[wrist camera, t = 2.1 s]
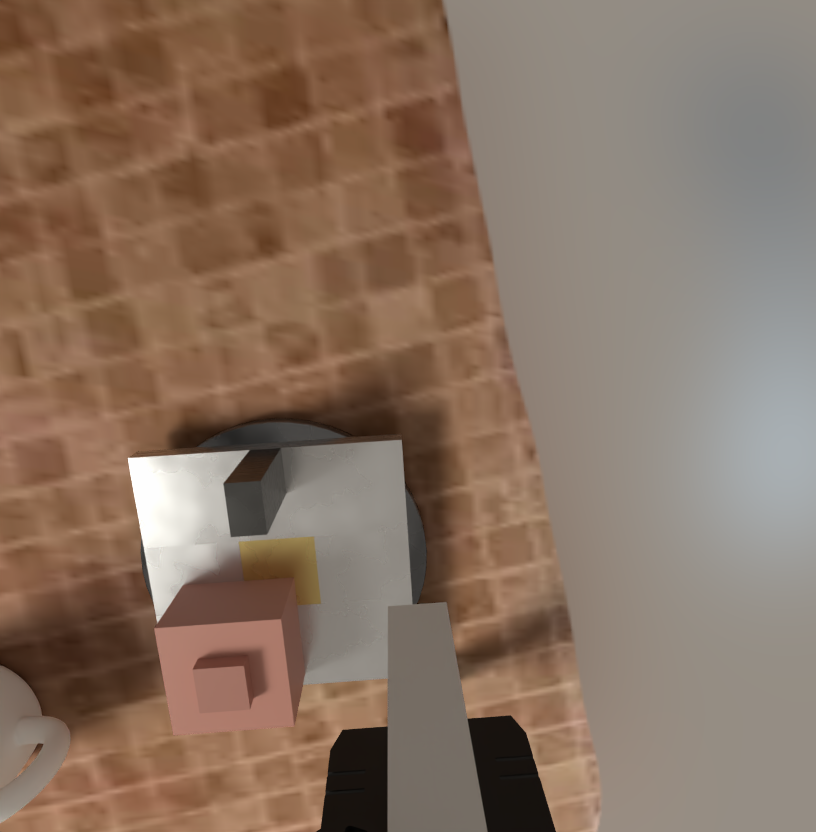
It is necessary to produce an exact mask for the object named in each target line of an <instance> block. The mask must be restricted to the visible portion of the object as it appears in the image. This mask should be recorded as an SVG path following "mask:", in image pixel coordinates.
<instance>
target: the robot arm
mask: <svg viewBox="0 0 816 832" xmlns="http://www.w3.org/2000/svg"><path fill="white" fill-rule="evenodd" d="M317 832H556V831H555V827H554V824H553V821H552V817H551V814H550V811H549V807H548V804H547V801H546V797H545V794H544V791H543V788H542V784H541V781H540V778H539V776H538V771H537V768H536V764H535V761H534V759H533V754H532V751H531V748H530V744H529V741H528V738H527V735H526V733H525V731H524V730H523V729H522V728H521V727H520V726H519V725H518V723H517V722H516V721H515V720H514V719H513V718H512V716H498V717H485V718H472V719H467V714H466V709H465V703H464V697H463V692H462V686H461V681H460V675H459V669H458V664H457V658H456V653H455V647H454V641H453V636H452V630H451V625H450V619H449V613H448V608H447V602H440V603H426V604H412V605H398V606H388V727H375V728H362V729H349V730H342V732H341V734H340V735H339V737H338V739H337V740H336V742H335V743H334V745H333V747H332V748H331V750H330V758H329V767H328V777H327V783H326V795H325V799H324V807H323V816H322V824H321V829H320V830H318V831H317Z"/></svg>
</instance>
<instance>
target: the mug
mask: <svg viewBox="0 0 816 832" xmlns="http://www.w3.org/2000/svg"><path fill="white" fill-rule="evenodd" d="M70 741H71V739H70V730H69V729H68V727H67V725H66V724H65V723H64V722H63V721H61V720H60V719H57V718H54V717H51V716H42V712H41V707H40V705H39V702H38V700H37V698H36V696H35V694H34V692H33V691H32V689H31V688H30V687H29V685H28V684H27V683H26V682H25V681H24V680H23V679H22V678H21V677H20V676H18V675H17V674H16V673H14V672H13V671H11V670H10V669H8V668H6V667H4V666H2V665H0V823H1V822H3V821H5V820H6V819H8V818H9V817H11V816H12V815H13V814H15V813H16V812H18V811H19V810H20V809H22V808H23V807H24V806H25V805H26V804H28V803H29V802H30V801H31V800H32V799H33V798H34V797H35V796H36V795H37V794H38V793H40V792H41V791H42V790H43V789H44V787H45V786H46V785H47V784H48V783H49V782H50V781H51V779H52V778H53V777H54V775H55V774H56V773H57V771H58V770H59V769H60V767H61V765H62V763H63V762H64V760H65V757H66V755H67V752H68V750H69V747H70ZM38 743H42V744H43V747H42V749H41V751H40V752H39V754H38V755H37V757H36V758H35V759H34V761H33V762H32V763H31V764H30V765H29V766H28V767H27V769H26V770H25V771H24V772H22V773H21V774H20V775H19V776H18V777H17V778H15V777H16V776H17V775H18V773H19V772H20V771H21V769H22V768H23V767H24V765H25V764H26V762H27V761H28V759H29V758H30V756H31V754H32V753H33V751H34V750H35V748H36V746H37V744H38Z"/></svg>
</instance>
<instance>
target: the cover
mask: <svg viewBox="0 0 816 832" xmlns="http://www.w3.org/2000/svg"><path fill="white" fill-rule="evenodd" d="M154 631H155V636H156V642H157V647H158V653H159V658H160V664H161V669H162V675H163V680H164V686H165V691H166V697H167V702H168V708H169V714H170V719H171V725H172V730H173V735H186V734H200V733H213V732H226V731H239V730H252V729H265V728H278V727H291V726H295V721H296V716H297V711H298V706H299V701H300V697H301V692H302V687H303V682H304V677H305V667H304V659H303V650H302V641H301V633H300V624H299V615H298V607H297V598H296V590H295V581H294V577H292V578H278V579H264V580H250V581H236V582H222V583H208V584H194V585H183V586H182V587H181V589H180V590H179V592H178V593H177V595H176V596H175V598H174V599H173V601H172V602H171V604H170V605H169V607H168V608H167V610H166V611H165V613H164V614H163V616H162V617H161V619H160V620H159V622H158V623H157V625H156V626H155V628H154Z"/></svg>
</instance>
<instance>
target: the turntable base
mask: <svg viewBox="0 0 816 832" xmlns="http://www.w3.org/2000/svg"><path fill="white" fill-rule="evenodd" d="M345 437H354V436H352V435H350V434H349V433H347V432H344V431H342V430H339V429H337V428H334V427H332V426H329V425H325V424H321V423H317V422H313V421H308V420H300V419H265V420H258V421H252V422H248V423H244V424H241V425H237V426H234V427H231V428H229V429H227V430H224V431H222V432H219V433H217V434H215V435H214V436H212V437H210V438H209V439H207V440H205V441H203V442H202V443H200V444H199V445H198V446H197V447H211V446H226V445H241V444H256V443H271V442H286V441H301V440H315V439H330V438H345ZM195 448H196V447H195ZM405 497H406V512H407V527H408V543H409V558H410V573H411V589H412V604H417V602H418V600H419V597H420V594H421V591H422V587H423V584H424V578H425V572H426V552H427V550H426V542H425V535H424V527H423V523H422V519H421V516H420V512H419V509H418V507H417V504H416V502H415V500H414V497H413V495H412V493H411V491H410V490H409V488H408V487H407V485H406V483H405ZM141 560H142V569H143V574H144V578H145V582H146V586H147V589H148V591H149V593H150V596H151V598H152V601H153V596H152V591H151V585H150V579H149V574H148V568H147V563H146V557H145V552H144V546H143V540H142V535H141ZM153 603H154V602H153Z"/></svg>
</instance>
